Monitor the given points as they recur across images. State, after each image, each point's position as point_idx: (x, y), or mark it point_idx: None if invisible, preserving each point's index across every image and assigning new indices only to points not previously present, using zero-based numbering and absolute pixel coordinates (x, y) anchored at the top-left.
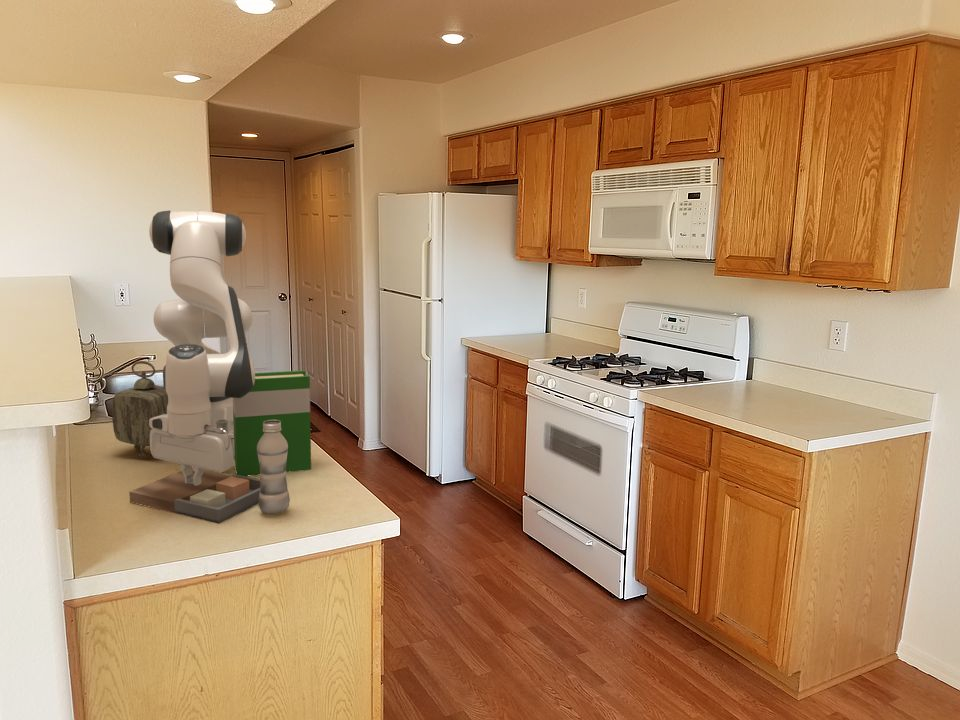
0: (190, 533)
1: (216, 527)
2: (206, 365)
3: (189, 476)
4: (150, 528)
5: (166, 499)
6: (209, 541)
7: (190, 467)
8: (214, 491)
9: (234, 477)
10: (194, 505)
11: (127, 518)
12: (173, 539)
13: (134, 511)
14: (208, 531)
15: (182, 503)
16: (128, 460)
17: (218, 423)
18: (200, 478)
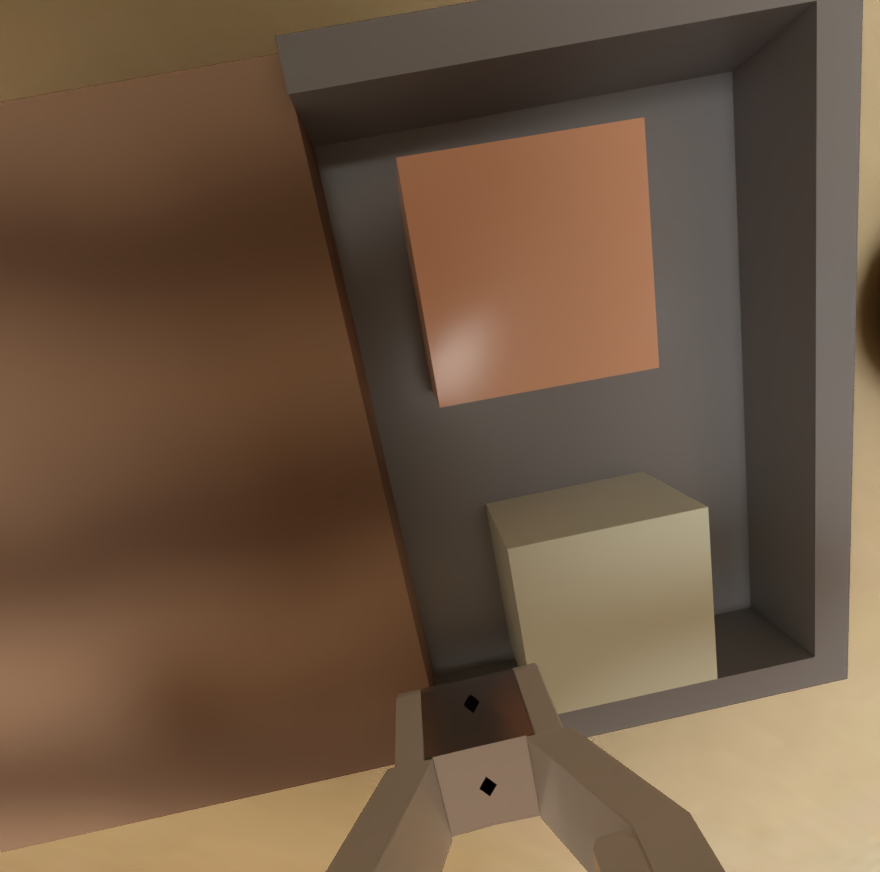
0: (725, 759)
1: None
2: None
3: (469, 816)
4: (513, 844)
5: (359, 765)
6: (868, 748)
7: (385, 859)
8: (606, 542)
9: (451, 168)
10: (630, 720)
11: (302, 862)
12: (708, 832)
13: (232, 805)
14: (784, 696)
15: None
16: None
17: None
18: (553, 710)
